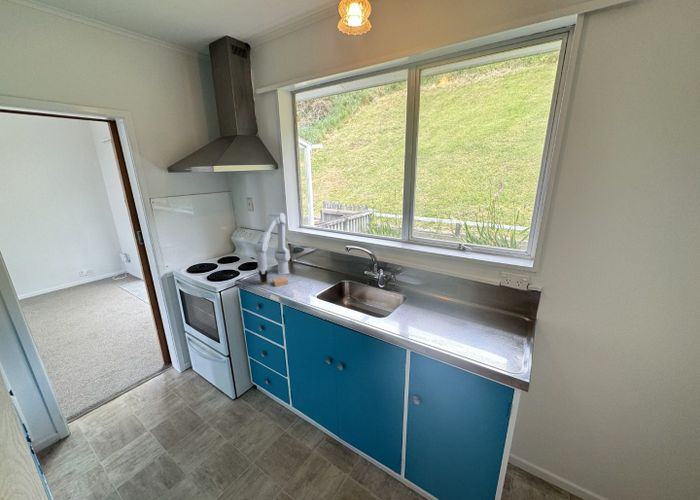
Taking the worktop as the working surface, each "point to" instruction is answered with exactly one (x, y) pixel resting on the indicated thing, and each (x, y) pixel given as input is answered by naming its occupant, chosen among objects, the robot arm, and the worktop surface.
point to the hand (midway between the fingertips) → (263, 280)
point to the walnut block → (264, 282)
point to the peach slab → (280, 281)
